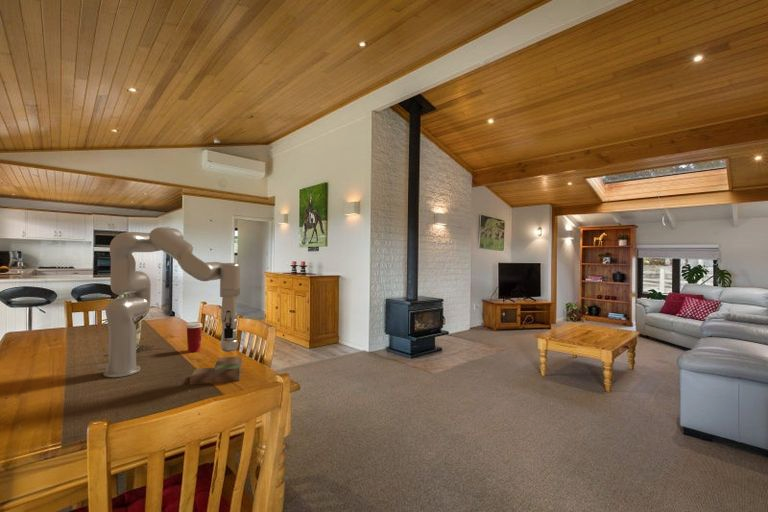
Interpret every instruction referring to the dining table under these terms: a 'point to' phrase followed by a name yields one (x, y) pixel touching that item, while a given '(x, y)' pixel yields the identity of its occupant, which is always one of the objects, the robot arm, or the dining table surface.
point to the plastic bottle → (230, 343)
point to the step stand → (219, 371)
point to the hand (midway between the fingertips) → (229, 335)
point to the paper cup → (194, 336)
